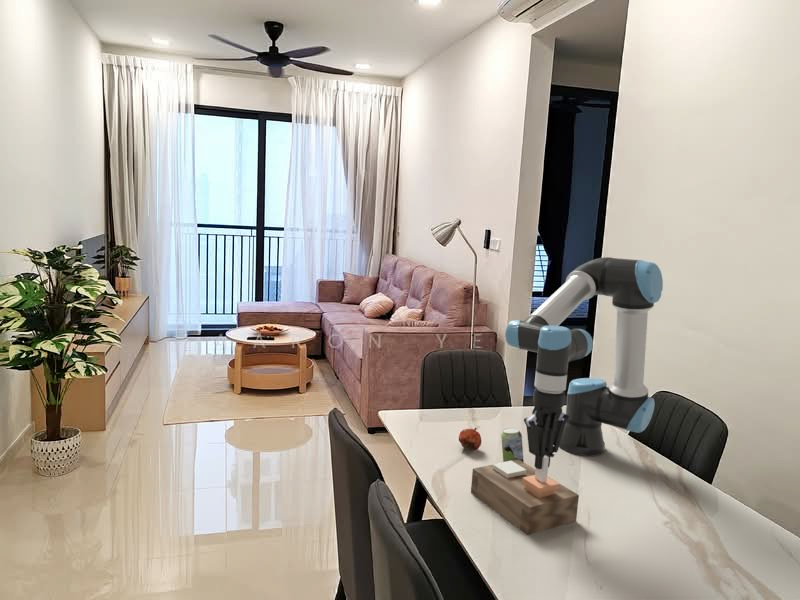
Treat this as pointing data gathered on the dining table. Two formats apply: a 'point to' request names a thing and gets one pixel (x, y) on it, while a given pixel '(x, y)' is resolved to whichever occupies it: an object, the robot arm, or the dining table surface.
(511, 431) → the beverage can
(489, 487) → the brown boxy piece
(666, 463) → the dining table surface
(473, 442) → the red round fruit
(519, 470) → the white block
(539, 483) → the terracotta key
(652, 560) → the dining table surface
